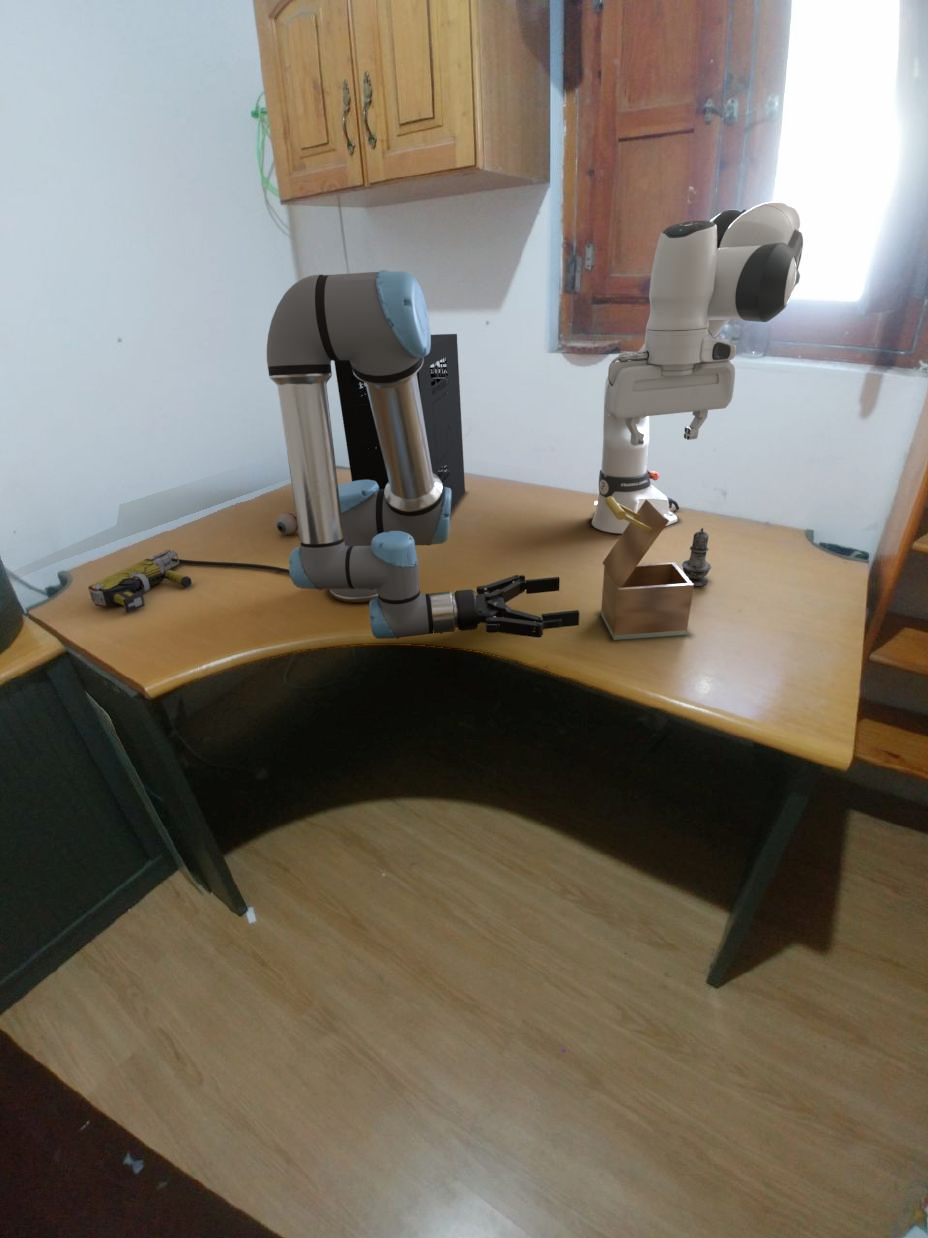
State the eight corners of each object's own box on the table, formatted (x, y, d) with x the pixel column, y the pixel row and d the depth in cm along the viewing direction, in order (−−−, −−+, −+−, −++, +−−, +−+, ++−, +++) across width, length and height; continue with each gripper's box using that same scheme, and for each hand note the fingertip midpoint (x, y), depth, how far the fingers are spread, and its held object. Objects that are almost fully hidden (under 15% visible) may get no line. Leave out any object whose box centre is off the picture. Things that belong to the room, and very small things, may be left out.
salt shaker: (710, 587, 126) (720, 533, 120) (681, 586, 127) (688, 532, 121) (706, 574, 131) (715, 522, 125) (678, 573, 132) (685, 522, 126)
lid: (650, 501, 108) (614, 481, 106) (669, 520, 100) (630, 499, 97) (606, 565, 114) (571, 547, 112) (620, 588, 105) (582, 569, 103)
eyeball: (273, 537, 164) (268, 516, 161) (287, 528, 169) (282, 508, 166) (291, 539, 161) (286, 518, 158) (305, 530, 166) (301, 510, 163)
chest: (668, 609, 119) (674, 561, 114) (686, 634, 111) (694, 584, 106) (600, 614, 119) (604, 566, 114) (613, 639, 111) (618, 590, 106)
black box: (432, 538, 157) (416, 350, 135) (359, 535, 162) (333, 353, 139) (465, 491, 189) (456, 333, 166) (403, 490, 193) (387, 336, 171)
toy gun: (215, 558, 145) (165, 547, 149) (137, 600, 125) (81, 586, 129) (218, 575, 148) (168, 564, 152) (142, 619, 128) (87, 605, 131)
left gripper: (450, 598, 123) (551, 587, 125) (464, 666, 102) (586, 652, 103) (447, 564, 119) (552, 554, 121) (461, 628, 98) (589, 614, 100)
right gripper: (618, 356, 87) (611, 453, 94) (747, 346, 90) (731, 439, 97) (601, 352, 92) (595, 443, 99) (722, 342, 95) (709, 431, 102)
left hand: (568, 599), depth 112 cm, fingers open, 13 cm apart
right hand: (663, 441), depth 98 cm, fingers open, 8 cm apart
